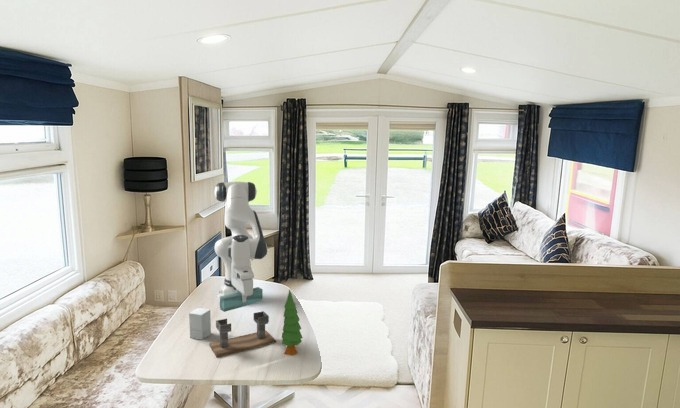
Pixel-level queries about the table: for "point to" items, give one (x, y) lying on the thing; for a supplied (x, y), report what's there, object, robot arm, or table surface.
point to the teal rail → (240, 300)
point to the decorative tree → (291, 327)
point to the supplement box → (200, 323)
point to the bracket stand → (241, 337)
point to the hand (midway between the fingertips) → (241, 299)
